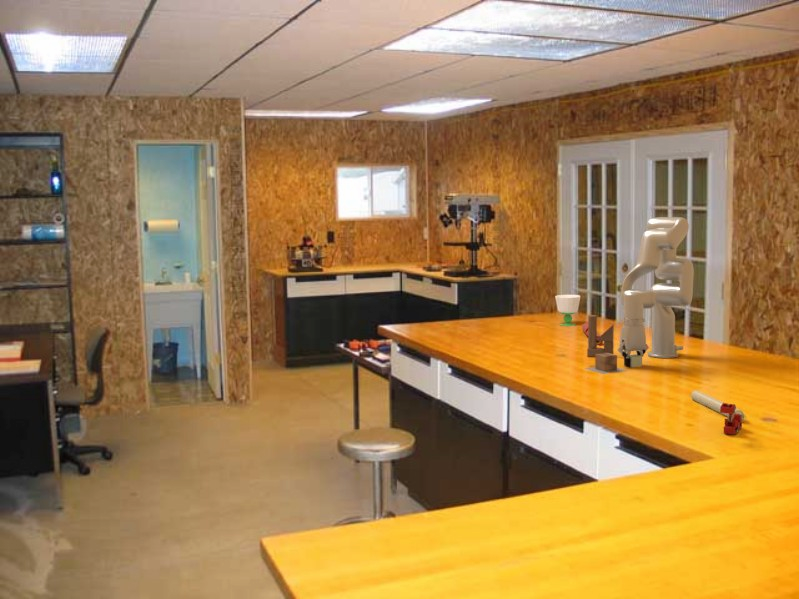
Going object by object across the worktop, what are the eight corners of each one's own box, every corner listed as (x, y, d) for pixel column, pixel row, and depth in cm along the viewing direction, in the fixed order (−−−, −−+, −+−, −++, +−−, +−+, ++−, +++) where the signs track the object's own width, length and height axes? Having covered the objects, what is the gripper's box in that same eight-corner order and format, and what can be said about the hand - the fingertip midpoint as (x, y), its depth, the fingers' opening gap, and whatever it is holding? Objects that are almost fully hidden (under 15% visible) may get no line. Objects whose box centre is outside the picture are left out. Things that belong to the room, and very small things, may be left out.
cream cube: (634, 366, 341) (634, 354, 341) (642, 368, 337) (642, 355, 336) (624, 367, 339) (624, 355, 339) (631, 369, 335) (632, 357, 334)
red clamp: (742, 427, 248) (743, 396, 246) (731, 439, 236) (732, 406, 235) (731, 426, 250) (731, 394, 248) (719, 437, 238) (720, 404, 237)
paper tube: (736, 424, 253) (737, 412, 253) (690, 401, 283) (690, 390, 282) (748, 423, 253) (748, 411, 253) (700, 400, 283) (701, 389, 283)
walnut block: (607, 367, 336) (607, 352, 335) (616, 370, 330) (617, 355, 329) (595, 368, 333) (595, 354, 333) (604, 371, 328) (604, 356, 327)
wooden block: (612, 357, 359) (612, 316, 357) (587, 356, 363) (587, 315, 361) (613, 356, 363) (613, 315, 360) (588, 355, 367) (588, 314, 365)
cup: (555, 326, 450) (555, 297, 448) (554, 322, 463) (554, 294, 461) (581, 326, 447) (581, 297, 445) (579, 322, 461) (580, 294, 459)
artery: (602, 346, 390) (603, 335, 389) (592, 346, 390) (592, 335, 389) (591, 332, 431) (591, 322, 430) (582, 332, 431) (582, 322, 431)
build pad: (609, 367, 339) (609, 365, 339) (627, 372, 328) (627, 370, 328) (584, 370, 335) (584, 368, 335) (602, 375, 324) (602, 373, 324)
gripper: (644, 319, 342) (643, 363, 345) (610, 323, 336) (610, 367, 338) (656, 322, 336) (656, 366, 338) (622, 325, 329) (621, 370, 331)
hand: (633, 366), depth 338 cm, fingers closed on cream cube, 5 cm apart
